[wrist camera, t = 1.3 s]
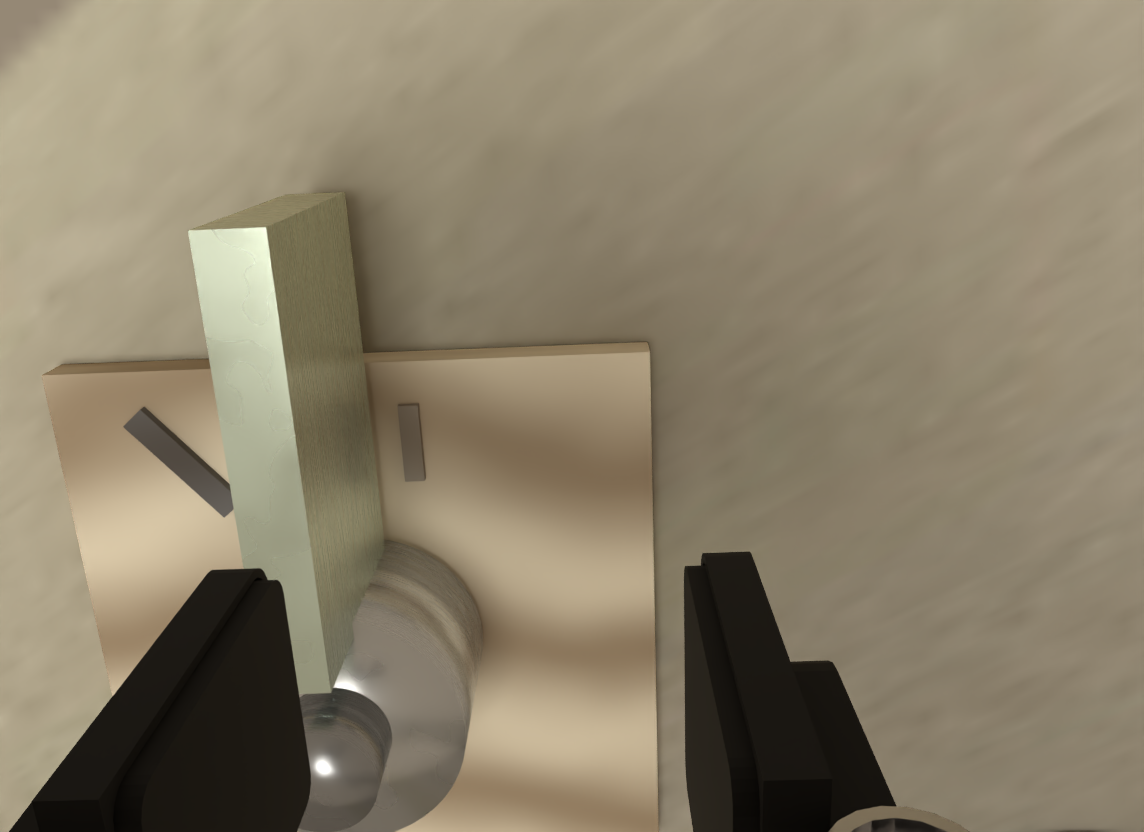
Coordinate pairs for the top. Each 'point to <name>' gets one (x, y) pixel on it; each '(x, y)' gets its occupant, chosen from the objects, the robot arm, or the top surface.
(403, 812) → the green panel with knob
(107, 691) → the top surface
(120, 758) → the robot arm
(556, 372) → the board
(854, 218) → the top surface
